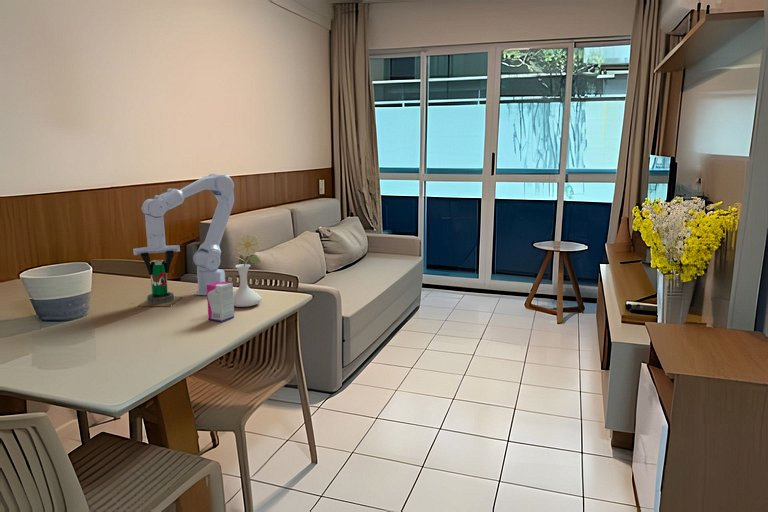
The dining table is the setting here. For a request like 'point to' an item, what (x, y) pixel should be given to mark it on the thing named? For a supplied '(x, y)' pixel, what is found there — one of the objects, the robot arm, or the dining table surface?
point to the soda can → (158, 278)
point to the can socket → (160, 300)
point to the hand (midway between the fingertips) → (158, 273)
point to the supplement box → (220, 301)
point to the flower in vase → (244, 293)
